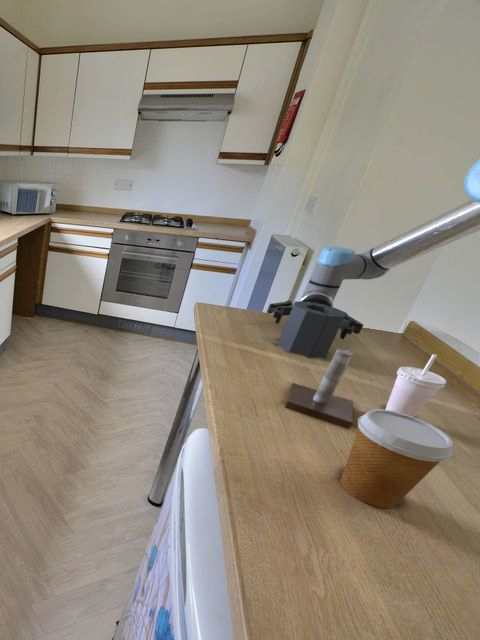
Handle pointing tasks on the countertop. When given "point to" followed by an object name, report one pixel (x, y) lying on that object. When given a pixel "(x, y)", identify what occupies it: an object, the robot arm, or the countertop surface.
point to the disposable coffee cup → (392, 456)
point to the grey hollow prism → (311, 329)
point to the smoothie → (414, 389)
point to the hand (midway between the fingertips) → (310, 326)
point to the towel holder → (325, 395)
